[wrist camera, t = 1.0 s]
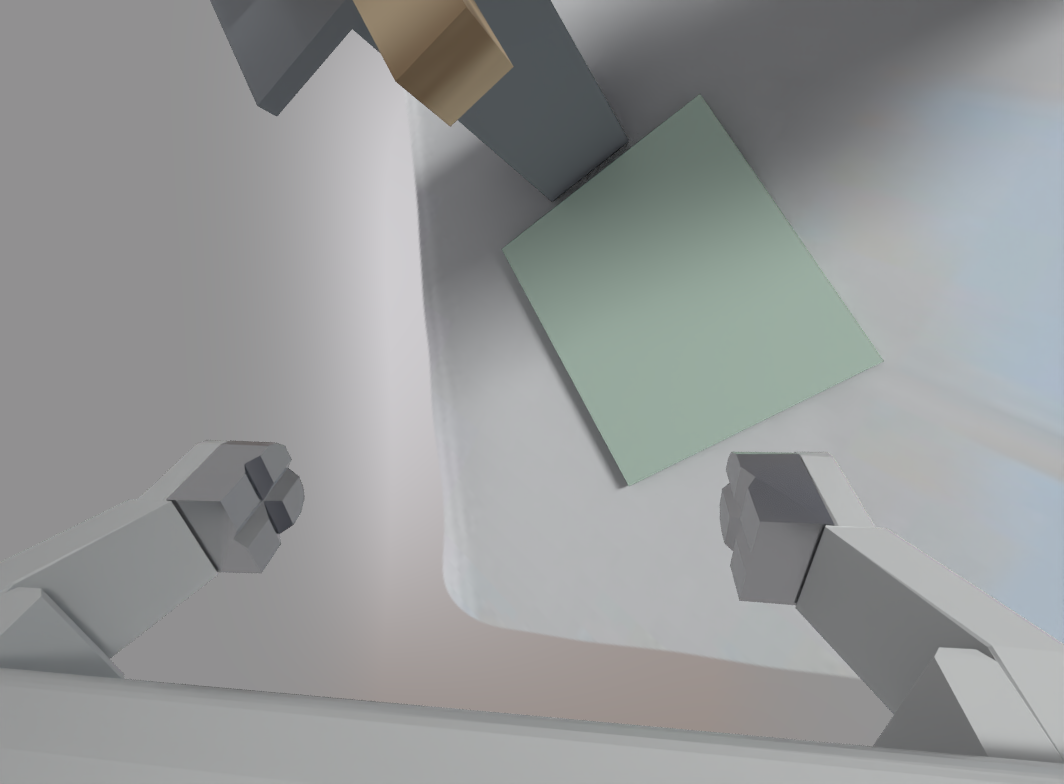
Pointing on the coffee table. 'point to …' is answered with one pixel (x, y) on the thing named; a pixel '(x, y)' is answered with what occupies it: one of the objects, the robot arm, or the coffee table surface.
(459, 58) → the t bar
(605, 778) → the robot arm
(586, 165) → the stand
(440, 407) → the coffee table surface
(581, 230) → the mat
